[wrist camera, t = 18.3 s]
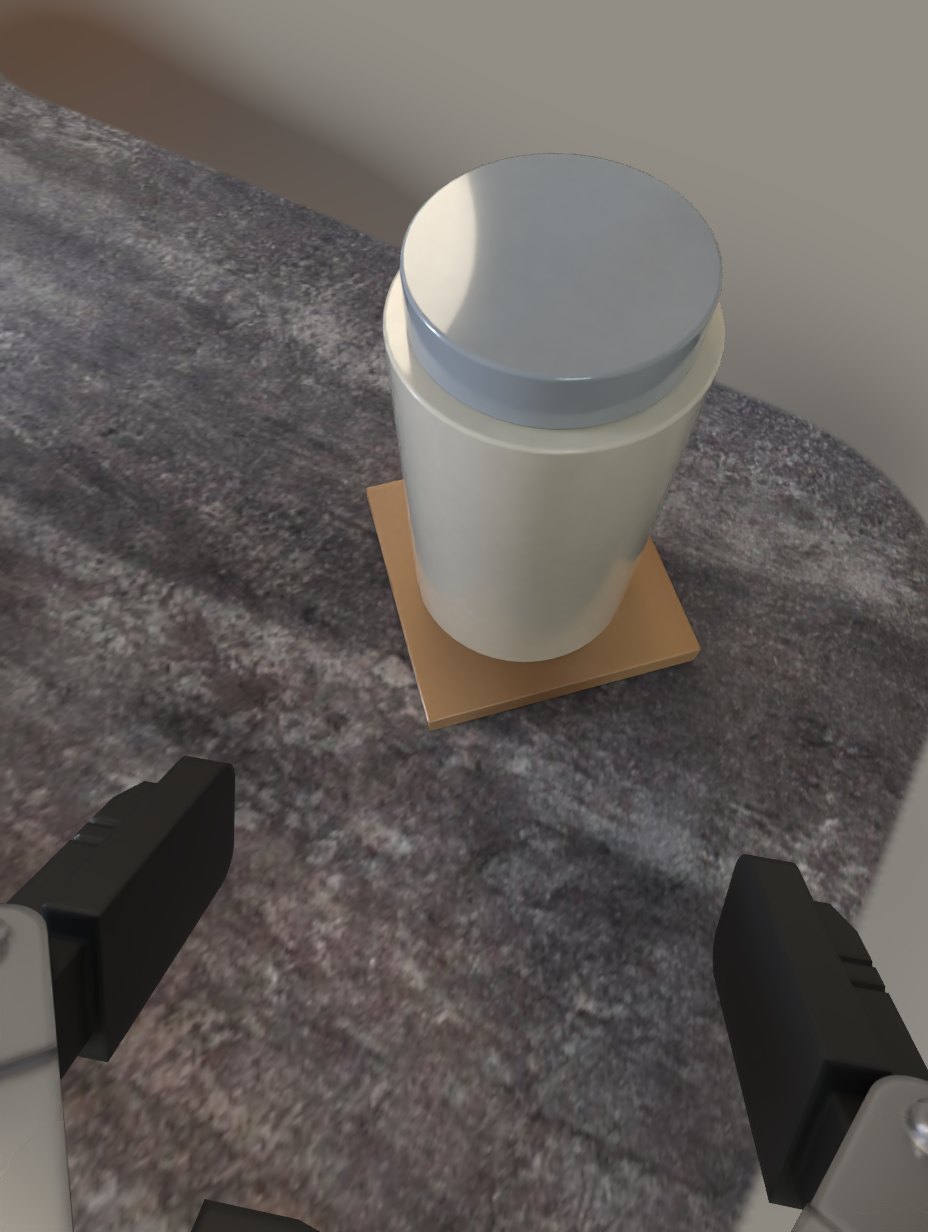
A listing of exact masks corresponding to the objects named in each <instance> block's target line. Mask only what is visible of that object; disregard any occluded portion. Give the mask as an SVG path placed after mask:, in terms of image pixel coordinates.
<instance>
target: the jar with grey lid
mask: <svg viewBox="0 0 928 1232" xmlns="http://www.w3.org/2000/svg"><path fill="white" fill-rule="evenodd" d="M722 279H723V269H722V258H721V254H720V250H719V247H718V243H717V241H716V239H715V236H714V234H713V232H712V230H711V228H710V227H709V225H708V224H707V222H706V221H705V219H704V218H703V216H702V215H701V214H700V213H699V211H698V210H697V209H696V208H695V207H694V206H693V205H692V204H691V203H690V202H689V201H688V200H687V199H686V198H684V197H683V196H682V195H681V194H680V193H679V192H677V191H676V190H674V189H673V188H671V187H670V186H668V185H667V184H666V183H664V182H662V181H660V180H659V179H657V178H655V177H653V176H651V175H649V174H647V173H645V172H643V171H640V170H638V169H635V168H633V167H631V166H628V165H624V164H621V163H618V162H615V161H611V160H607V159H602V158H597V157H592V156H585V155H577V154H560V153H548V154H531V155H523V156H516V157H512V158H507V159H502V160H498V161H495V162H492V163H488V164H485V165H482V166H480V167H477V168H475V169H472V170H470V171H468V172H466V173H464V174H462V175H460V176H458V177H456V178H455V179H453V180H451V181H450V182H448V183H447V184H445V185H444V186H443V187H441V188H440V189H439V190H437V191H436V192H435V193H434V194H433V195H432V196H431V197H430V198H429V199H428V200H426V201H425V203H424V204H423V205H422V206H421V208H420V209H419V210H418V211H417V213H416V214H415V216H414V218H413V219H412V221H411V223H410V225H409V226H408V229H407V231H406V234H405V237H404V240H403V242H402V247H401V253H400V269H399V271H398V273H397V274H396V276H395V278H394V280H393V282H392V284H391V286H390V289H389V292H388V295H387V298H386V300H385V306H384V312H383V338H384V345H385V353H386V360H387V367H388V375H389V382H390V389H391V397H392V404H393V411H394V419H395V426H396V433H397V441H398V448H399V455H400V463H401V470H402V478H403V485H404V492H405V500H406V507H407V514H408V522H409V529H410V536H411V544H412V551H413V558H414V566H415V573H416V579H417V585H418V589H419V592H420V595H421V598H422V600H423V602H424V604H425V606H426V608H427V610H428V611H429V613H430V614H431V616H432V617H433V619H434V620H435V621H436V622H437V623H438V625H439V626H440V627H441V628H442V629H443V630H444V631H445V632H446V633H447V634H449V635H450V636H451V637H452V638H453V639H455V640H456V641H458V642H459V643H461V644H462V645H464V646H466V647H467V648H469V649H471V650H474V651H476V652H478V653H480V654H483V655H486V656H489V657H492V658H496V659H501V660H506V661H515V662H536V661H543V660H549V659H554V658H557V657H560V656H564V655H567V654H569V653H571V652H573V651H576V650H578V649H580V648H581V647H583V646H585V645H586V644H588V643H589V642H591V641H592V640H593V639H595V638H596V637H597V636H598V635H599V634H601V633H602V632H603V630H604V629H605V628H606V627H607V626H608V625H609V624H610V623H611V621H612V620H613V618H614V617H615V615H616V614H617V612H618V610H619V608H620V606H621V604H622V602H623V599H624V597H625V594H626V592H627V590H628V587H629V585H630V582H631V580H632V578H633V575H634V573H635V570H636V568H637V566H638V563H639V561H640V558H641V556H642V553H643V551H644V549H645V546H646V544H647V541H648V539H649V537H650V534H651V532H652V529H653V527H654V525H655V522H656V520H657V517H658V515H659V512H660V510H661V508H662V505H663V503H664V500H665V498H666V496H667V493H668V491H669V488H670V486H671V483H672V481H673V479H674V476H675V474H676V471H677V469H678V467H679V464H680V462H681V459H682V457H683V455H684V452H685V450H686V447H687V445H688V442H689V440H690V438H691V435H692V433H693V430H694V428H695V426H696V423H697V421H698V418H699V416H700V414H701V411H702V409H703V406H704V404H705V401H706V399H707V397H708V394H709V392H710V389H711V387H712V385H713V382H714V380H715V377H716V375H717V372H718V370H719V367H720V363H721V360H722V357H723V353H724V344H725V327H724V316H723V312H722V308H721V305H720V301H719V297H720V294H721V290H722Z"/></svg>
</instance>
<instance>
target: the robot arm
mask: <svg viewBox="0 0 928 1232" xmlns="http://www.w3.org/2000/svg"><path fill="white" fill-rule="evenodd" d="M234 809H235V772H234V768H233V766H232V765H231V764H229V763H224V762H218V761H212V760H206V759H200V758H195V757H189V756H184V757H182V758H181V759H180V760H179V761H178V762H177V763H176V764H175V765H174V766H173V767H172V768H171V769H170V770H169V771H168V772H167V773H166V775H165V776H164V777H163V778H162V779H161V780H160V781H159V782H158V783H152V782H147V781H144V782H142V783H140V784H138V785H136V786H134V787H132V788H130V789H128V790H126V791H124V792H122V793H121V794H119V795H117V796H115V797H113V798H112V799H111V800H110V801H109V802H108V803H107V804H106V805H105V806H104V807H103V808H102V809H101V810H100V811H99V812H98V813H97V814H96V815H95V816H94V817H93V818H92V822H91V823H90V822H88V823H87V824H86V825H85V826H84V827H83V828H82V829H81V830H80V831H79V832H78V833H77V834H76V835H75V837H74V840H70V841H69V842H68V843H67V844H66V845H65V846H64V847H63V848H62V849H61V850H60V851H59V852H57V853H56V854H55V855H54V856H53V857H52V858H51V859H50V860H49V861H48V862H47V863H46V864H45V865H44V866H43V867H42V868H41V869H40V870H39V871H38V872H37V873H36V874H35V875H34V876H33V877H32V878H31V879H30V880H29V881H28V882H27V883H26V884H25V885H24V886H23V887H22V888H21V889H20V890H19V891H18V892H17V893H16V894H15V895H14V896H13V897H12V898H11V899H10V900H9V901H8V902H7V903H6V904H0V1232H74V1226H73V1215H72V1203H71V1192H70V1180H69V1169H68V1157H67V1146H66V1134H65V1123H64V1111H63V1100H62V1088H61V1079H62V1078H63V1076H64V1075H65V1073H66V1072H67V1070H68V1069H69V1067H70V1066H71V1064H72V1063H73V1062H74V1060H75V1059H76V1057H77V1056H80V1057H85V1058H90V1059H95V1060H100V1061H104V1062H108V1061H109V1060H110V1058H111V1057H112V1055H113V1053H114V1052H115V1050H116V1049H117V1047H118V1046H119V1044H120V1043H121V1041H122V1039H123V1038H124V1036H125V1035H126V1033H127V1032H128V1030H129V1029H130V1027H131V1025H132V1024H133V1022H134V1021H135V1019H136V1018H137V1016H138V1015H139V1013H140V1011H141V1010H142V1008H143V1007H144V1005H145V1004H146V1002H147V1001H148V999H149V997H150V996H151V994H152V993H153V991H154V990H155V988H156V986H157V985H158V983H159V982H160V980H161V979H162V977H163V976H164V974H165V972H166V971H167V969H168V968H169V966H170V965H171V963H172V962H173V960H174V958H175V957H176V955H177V954H178V952H179V951H180V949H181V948H182V946H183V944H184V943H185V941H186V940H187V938H188V937H189V935H190V934H191V932H192V930H193V929H194V927H195V926H196V924H197V923H198V921H199V920H200V918H201V916H202V915H203V913H204V912H205V910H206V909H207V907H208V905H209V904H210V902H211V901H212V899H213V898H214V896H215V895H216V893H217V891H218V890H219V888H220V887H221V885H222V883H223V882H224V879H225V877H226V875H227V872H228V870H229V867H230V863H231V859H232V855H233V848H234ZM713 972H714V978H715V983H716V987H717V991H718V995H719V999H720V1003H721V1007H722V1011H723V1015H724V1019H725V1024H726V1028H727V1032H728V1036H729V1040H730V1044H731V1048H732V1052H733V1056H734V1060H735V1065H736V1069H737V1073H738V1077H739V1081H740V1085H741V1089H742V1093H743V1097H744V1101H745V1106H746V1110H747V1114H748V1118H749V1122H750V1126H751V1130H752V1134H753V1138H754V1142H755V1147H756V1151H757V1155H758V1159H759V1163H760V1167H761V1171H762V1175H763V1179H764V1183H765V1187H766V1192H767V1196H768V1200H769V1203H774V1204H778V1205H783V1206H788V1207H793V1208H797V1209H802V1213H801V1214H800V1216H799V1218H798V1220H797V1221H796V1223H795V1225H794V1227H793V1229H792V1231H791V1232H928V1070H927V1067H926V1065H925V1064H924V1062H923V1060H922V1058H921V1056H920V1054H919V1052H918V1050H917V1048H916V1046H915V1044H914V1042H913V1040H912V1038H911V1036H910V1034H909V1032H908V1030H907V1028H906V1026H905V1024H904V1022H903V1020H902V1018H901V1017H900V1015H899V1013H898V1011H897V1009H896V1007H895V1005H894V1003H893V1001H892V999H891V997H890V995H889V993H885V985H884V984H883V981H882V980H881V978H880V975H879V973H878V972H877V970H876V968H874V967H872V960H871V958H870V956H869V954H868V952H867V950H866V948H865V946H864V945H863V942H862V940H861V938H860V936H859V934H858V932H857V931H856V930H855V929H854V928H853V927H852V926H851V925H850V924H849V923H848V922H847V921H846V920H845V919H844V918H843V917H842V916H841V915H840V914H839V913H838V912H837V911H836V910H835V909H834V908H833V907H832V906H831V905H830V904H828V903H822V902H816V901H813V899H812V896H811V894H810V892H809V890H808V888H807V886H806V883H805V881H804V879H803V877H802V875H801V872H800V870H799V868H798V867H797V865H796V864H794V863H792V862H786V861H781V860H775V859H769V858H763V857H757V856H752V855H746V854H743V855H741V856H740V857H739V859H738V860H737V863H736V865H735V868H734V872H733V875H732V878H731V882H730V885H729V889H728V892H727V896H726V899H725V902H724V906H723V909H722V913H721V916H720V919H719V923H718V926H717V930H716V933H715V938H714V945H713ZM191 1232H319V1231H318V1230H316V1229H314V1228H312V1227H311V1226H309V1225H307V1224H305V1223H304V1222H302V1221H300V1220H298V1219H293V1218H289V1217H284V1216H279V1215H275V1214H270V1213H266V1212H261V1211H257V1210H252V1209H248V1208H243V1207H238V1206H234V1205H229V1204H225V1203H220V1202H216V1201H211V1200H207V1199H205V1200H204V1202H203V1205H202V1207H201V1209H200V1212H199V1214H198V1216H197V1219H196V1221H195V1223H194V1226H193V1228H192V1231H191Z"/></svg>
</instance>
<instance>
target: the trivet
mask: <svg viewBox="0 0 928 1232" xmlns="http://www.w3.org/2000/svg"><path fill="white" fill-rule="evenodd" d="M366 494H367V498H368V503H369V507H370V510H371V514H372V518H373V522H374V525H375V529H376V533H377V537H378V540H379V544H380V548H381V552H382V555H383V559H384V563H385V567H386V570H387V574H388V578H389V582H390V585H391V589H392V593H393V597H394V601H395V604H396V608H397V612H398V616H399V619H400V623H401V627H402V631H403V634H404V638H405V642H406V646H407V649H408V653H409V657H410V661H411V664H412V668H413V672H414V676H415V679H416V683H417V687H418V691H419V694H420V698H421V702H422V706H423V710H424V713H425V717H426V721H427V725H428V728H429V730H430V731H433V730H436V729H440V728H444V727H447V726H451V725H455V724H458V723H462V722H466V721H470V720H473V719H477V718H481V717H484V716H488V715H492V714H496V713H499V712H503V711H507V710H510V709H514V708H518V707H521V706H525V705H529V704H533V703H536V702H540V701H544V700H547V699H551V698H555V697H559V696H562V695H566V694H570V693H573V692H577V691H581V690H584V689H588V688H592V687H596V686H599V685H603V684H607V683H610V682H614V681H618V680H622V679H625V678H629V677H633V676H636V675H640V674H644V673H647V672H651V671H655V670H659V669H662V668H666V667H670V666H673V665H677V664H681V663H685V662H688V661H692V660H694V659H695V657H696V656H697V654H698V653H699V652H700V650H701V648H700V646H699V643H698V641H697V639H696V637H695V634H694V632H693V630H692V628H691V625H690V623H689V621H688V619H687V616H686V614H685V612H684V610H683V608H682V605H681V603H680V601H679V599H678V596H677V594H676V592H675V590H674V587H673V585H672V583H671V581H670V579H669V576H668V574H667V572H666V570H665V567H664V565H663V563H662V561H661V558H660V556H659V554H658V552H657V550H656V547H655V545H654V543H653V541H652V538H651V536H650V537H649V539H648V541H647V544H646V546H645V549H644V551H643V553H642V556H641V558H640V561H639V563H638V566H637V568H636V570H635V573H634V575H633V578H632V580H631V582H630V585H629V587H628V590H627V592H626V594H625V597H624V599H623V602H622V604H621V606H620V608H619V610H618V612H617V614H616V615H615V617H614V618H613V620H612V621H611V623H610V624H609V625H608V626H607V627H606V628H605V629H604V630H603V632H602V633H601V634H599V635H598V636H597V637H596V638H595V639H593V640H592V641H591V642H589V643H588V644H586V645H585V646H583V647H581V648H580V649H578V650H576V651H573V652H571V653H569V654H567V655H564V656H560V657H557V658H554V659H549V660H543V661H536V662H515V661H506V660H501V659H496V658H492V657H489V656H486V655H483V654H480V653H478V652H476V651H474V650H471V649H469V648H467V647H466V646H464V645H462V644H461V643H459V642H458V641H456V640H455V639H453V638H452V637H451V636H450V635H449V634H447V633H446V632H445V631H444V630H443V629H442V628H441V627H440V626H439V625H438V623H437V622H436V621H435V620H434V619H433V617H432V616H431V614H430V613H429V611H428V610H427V608H426V606H425V604H424V602H423V600H422V598H421V595H420V592H419V589H418V585H417V579H416V573H415V566H414V558H413V551H412V544H411V536H410V529H409V522H408V514H407V507H406V500H405V492H404V485H403V479H402V480H398V481H393V482H389V483H385V484H380V485H376V486H372V487H367V488H366Z"/></svg>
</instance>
